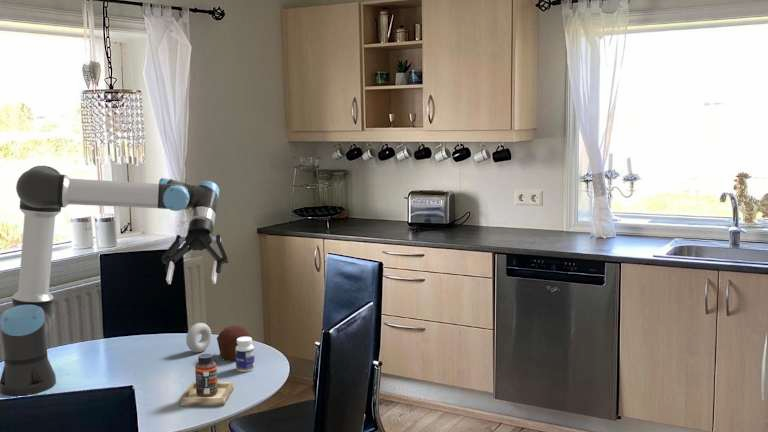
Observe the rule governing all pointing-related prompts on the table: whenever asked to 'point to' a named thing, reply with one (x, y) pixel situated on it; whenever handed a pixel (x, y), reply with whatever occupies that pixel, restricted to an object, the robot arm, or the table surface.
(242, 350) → the pill bottle
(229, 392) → the birch tray
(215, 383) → the supplement bottle
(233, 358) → the muffin
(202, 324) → the donut
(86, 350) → the table surface
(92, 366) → the table surface
